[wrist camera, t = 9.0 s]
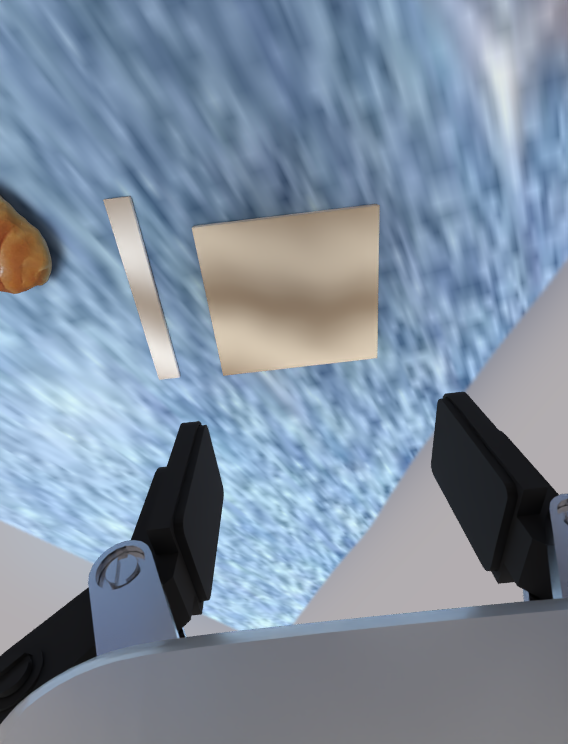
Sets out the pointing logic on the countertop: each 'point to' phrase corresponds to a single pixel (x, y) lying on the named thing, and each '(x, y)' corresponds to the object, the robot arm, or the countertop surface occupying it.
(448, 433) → the robot arm
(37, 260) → the pastry
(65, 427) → the countertop surface
